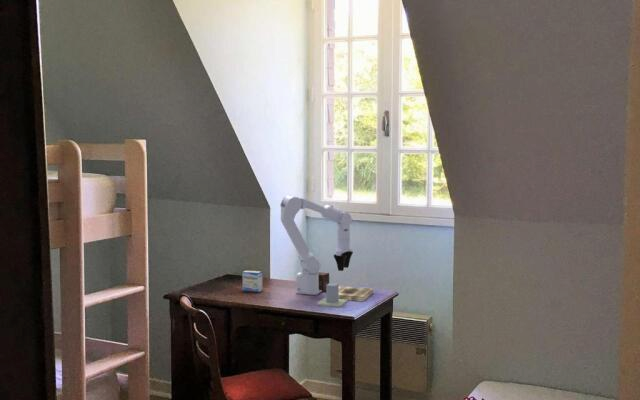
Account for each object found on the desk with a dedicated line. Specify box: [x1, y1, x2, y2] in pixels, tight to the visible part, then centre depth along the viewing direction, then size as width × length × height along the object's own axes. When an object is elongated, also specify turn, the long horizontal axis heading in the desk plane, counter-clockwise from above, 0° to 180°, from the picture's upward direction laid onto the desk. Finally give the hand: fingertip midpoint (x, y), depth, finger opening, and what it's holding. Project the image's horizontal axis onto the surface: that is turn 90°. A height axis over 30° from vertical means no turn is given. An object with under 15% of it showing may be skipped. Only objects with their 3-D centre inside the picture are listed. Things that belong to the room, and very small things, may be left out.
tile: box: [316, 297, 349, 308], centre depth 293 cm, size 10×10×1 cm
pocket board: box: [339, 285, 374, 302], centre depth 306 cm, size 16×16×2 cm
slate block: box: [325, 282, 340, 303], centre depth 292 cm, size 4×4×7 cm
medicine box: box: [242, 270, 263, 293], centre depth 316 cm, size 8×4×9 cm, turn 73°
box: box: [319, 271, 330, 292], centre depth 318 cm, size 6×6×7 cm
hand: (343, 269), depth 316 cm, fingers open, 7 cm apart
